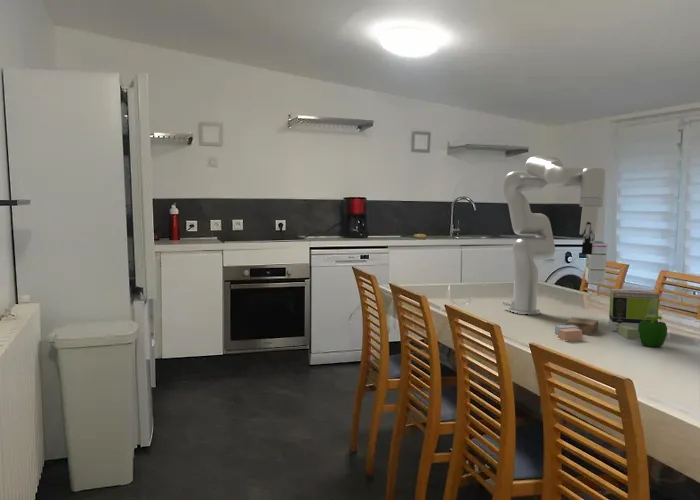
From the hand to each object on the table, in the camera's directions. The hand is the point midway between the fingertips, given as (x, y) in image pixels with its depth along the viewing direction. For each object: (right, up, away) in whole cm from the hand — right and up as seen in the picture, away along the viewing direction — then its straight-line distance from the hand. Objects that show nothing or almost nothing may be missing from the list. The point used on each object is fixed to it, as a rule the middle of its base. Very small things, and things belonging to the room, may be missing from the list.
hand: (587, 252), depth 200 cm
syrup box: (+3, -11, +1) cm, 11 cm away
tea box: (+19, -29, +6) cm, 35 cm away
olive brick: (+12, -29, -4) cm, 32 cm away
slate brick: (-9, -29, -5) cm, 31 cm away
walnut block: (-1, -29, +3) cm, 29 cm away
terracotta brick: (-10, -30, -10) cm, 33 cm away
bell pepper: (+14, -31, -17) cm, 37 cm away
